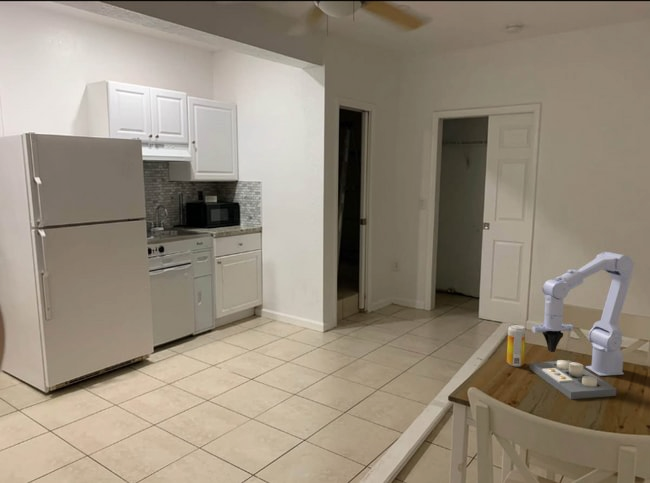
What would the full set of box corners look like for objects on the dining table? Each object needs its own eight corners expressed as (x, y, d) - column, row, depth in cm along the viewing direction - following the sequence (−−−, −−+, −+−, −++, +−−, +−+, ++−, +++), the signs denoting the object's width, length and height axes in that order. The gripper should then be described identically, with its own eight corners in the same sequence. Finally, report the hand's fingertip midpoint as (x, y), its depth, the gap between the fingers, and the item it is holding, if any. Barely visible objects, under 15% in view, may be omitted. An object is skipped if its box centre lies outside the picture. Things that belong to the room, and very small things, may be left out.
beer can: (520, 361, 181) (522, 324, 179) (525, 367, 175) (527, 329, 173) (504, 360, 182) (506, 323, 180) (509, 367, 176) (511, 329, 174)
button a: (564, 369, 172) (565, 359, 172) (572, 374, 168) (572, 364, 168) (553, 370, 172) (554, 360, 171) (561, 375, 168) (561, 365, 167)
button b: (577, 372, 165) (578, 361, 165) (585, 377, 161) (586, 366, 160) (565, 372, 165) (566, 362, 164) (573, 378, 160) (574, 367, 160)
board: (569, 366, 176) (569, 360, 175) (616, 395, 152) (616, 388, 152) (529, 368, 174) (530, 362, 174) (570, 399, 150) (571, 392, 150)
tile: (555, 369, 167) (555, 367, 167) (573, 381, 157) (573, 379, 157) (542, 370, 167) (542, 368, 167) (559, 382, 157) (559, 380, 157)
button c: (590, 386, 159) (591, 375, 158) (599, 392, 154) (600, 381, 154) (578, 387, 158) (579, 376, 158) (587, 392, 154) (587, 382, 153)
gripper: (565, 309, 168) (563, 345, 170) (527, 311, 166) (526, 348, 168) (578, 315, 161) (576, 352, 163) (539, 317, 159) (537, 355, 161)
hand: (551, 351), depth 165 cm, fingers closed
